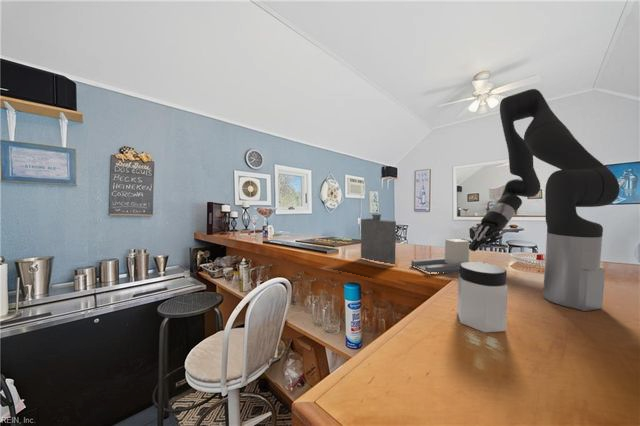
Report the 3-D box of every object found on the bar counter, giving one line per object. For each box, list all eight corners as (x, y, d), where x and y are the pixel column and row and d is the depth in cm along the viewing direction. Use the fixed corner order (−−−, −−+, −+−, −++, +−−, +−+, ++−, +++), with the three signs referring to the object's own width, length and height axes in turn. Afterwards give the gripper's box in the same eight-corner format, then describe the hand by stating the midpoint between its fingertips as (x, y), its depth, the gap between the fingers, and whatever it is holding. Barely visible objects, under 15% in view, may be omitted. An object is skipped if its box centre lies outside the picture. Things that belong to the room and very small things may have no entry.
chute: (485, 269, 84) (485, 262, 84) (429, 275, 79) (429, 267, 78) (462, 262, 94) (462, 256, 94) (411, 266, 88) (411, 260, 88)
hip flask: (396, 265, 90) (397, 214, 89) (391, 267, 88) (391, 215, 86) (363, 257, 102) (364, 212, 101) (358, 259, 99) (358, 213, 98)
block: (468, 265, 85) (469, 241, 85) (455, 266, 84) (455, 242, 83) (457, 261, 90) (458, 238, 90) (444, 262, 89) (445, 239, 88)
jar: (483, 311, 54) (485, 260, 53) (516, 331, 46) (519, 272, 45) (447, 313, 53) (449, 262, 52) (474, 334, 45) (477, 274, 44)
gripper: (477, 209, 96) (452, 240, 94) (510, 211, 83) (481, 246, 81) (487, 221, 98) (462, 252, 96) (520, 225, 85) (493, 260, 83)
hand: (471, 249), depth 88 cm, fingers closed
